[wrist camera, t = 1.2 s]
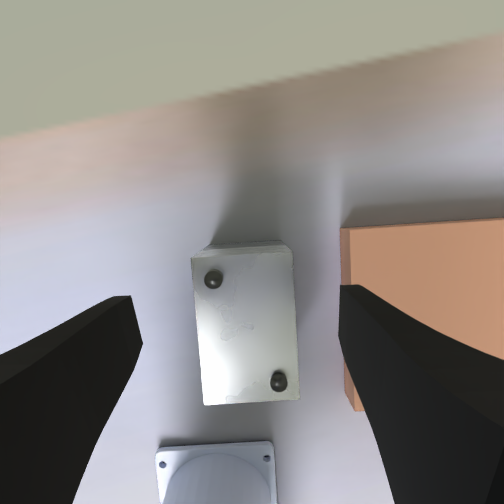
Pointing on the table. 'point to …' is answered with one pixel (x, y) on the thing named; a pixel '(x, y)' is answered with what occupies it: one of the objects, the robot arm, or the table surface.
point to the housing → (246, 322)
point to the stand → (433, 277)
